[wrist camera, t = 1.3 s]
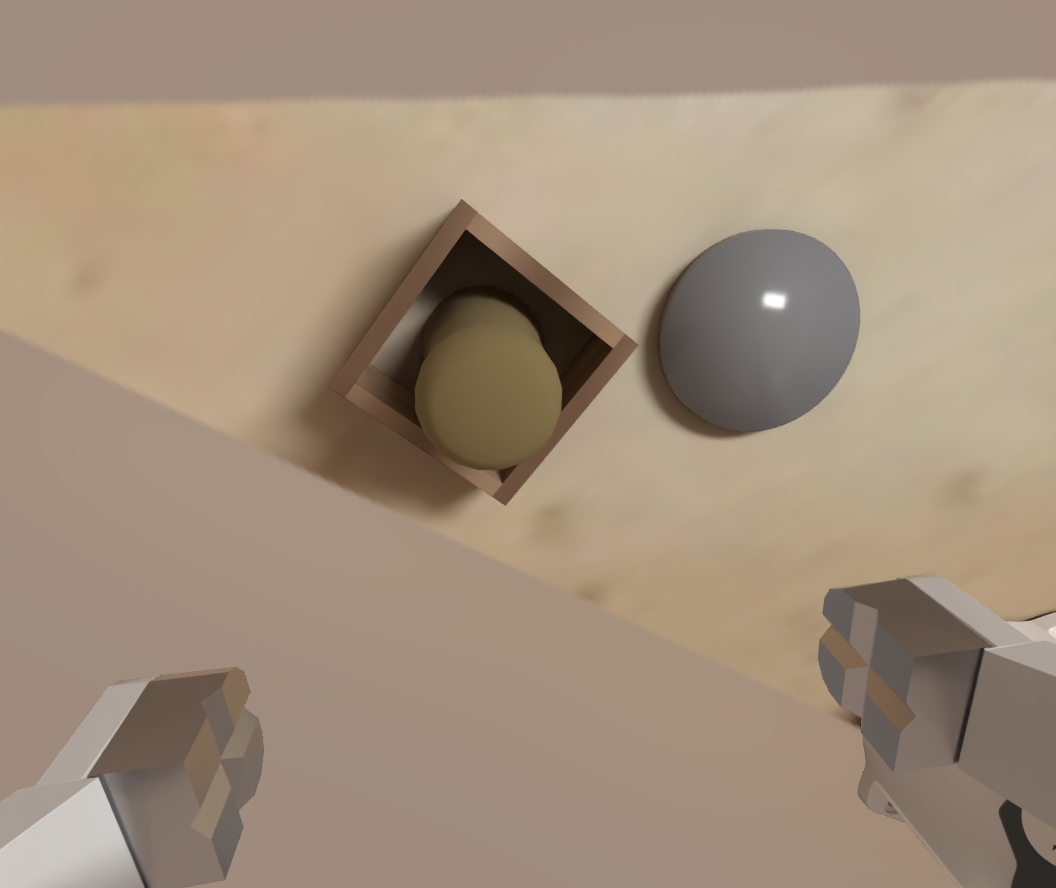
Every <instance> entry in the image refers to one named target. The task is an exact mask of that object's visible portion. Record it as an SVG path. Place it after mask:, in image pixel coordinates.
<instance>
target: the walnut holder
mask: <svg viewBox="0 0 1056 888" xmlns="http://www.w3.org/2000/svg"><path fill="white" fill-rule="evenodd" d="M465 229H466V230H468V231H469V232H470V233H471V234H473V235H474V236H475V237H476V238H478V239H479V240H480V241H481V242H482V243H484V244H485V245H486V246H487V247H489V248H490V249H491V250H492V251H494V252H495V253H496V254H497V255H498V256H500V257H501V258H502V259H503V260H505V261H506V262H507V263H508V264H510V265H511V266H512V267H513V268H515V269H516V270H517V271H518V272H519V273H521V274H522V275H523V276H524V277H526V278H527V279H528V280H529V281H531V282H532V283H533V284H534V285H536V286H537V287H538V288H539V289H540V290H542V291H543V292H544V293H545V294H547V295H548V296H549V297H550V298H552V299H553V300H554V301H555V302H556V303H558V304H559V305H560V306H561V307H563V308H564V309H565V310H566V311H568V312H569V313H570V314H571V315H573V316H574V317H575V318H576V319H577V320H579V321H580V322H581V323H582V324H584V325H585V326H586V327H587V328H589V329H590V330H591V331H592V332H594V333H595V335H594V336H593V337H592V338H591V340H590V341H589V342H588V343H587V345H586V346H585V347H584V348H583V350H582V351H581V352H580V353H579V355H578V356H577V357H576V358H575V360H574V361H573V362H572V363H571V365H570V366H569V367H568V368H567V370H566V371H565V372H564V373H563V374H562V376H561V377H560V378H559V380H560V383H561V387H562V403H561V413H560V415H559V418H558V421H557V423H556V426H555V428H554V431H553V434H552V436H551V437H550V438H549V439H548V441H547V442H546V443H545V444H544V446H543V447H542V448H541V449H540V451H539V452H537V453H536V454H534V455H533V456H531V457H530V458H528V459H527V460H525V461H524V462H523V463H521V464H518V465H515V466H512V467H508V468H505V469H502V470H476V469H472V468H469V467H465V466H462V465H459V464H456V463H455V462H453V461H452V460H450V459H449V458H447V457H446V456H444V455H443V454H441V453H440V452H439V451H438V450H437V449H436V447H435V446H434V445H433V444H432V442H431V441H430V440H429V439H428V438H427V436H426V435H425V434H424V432H423V429H422V427H421V424H420V422H419V419H418V416H417V414H416V411H415V395H414V394H412V393H411V392H409V391H408V390H406V389H405V388H404V387H402V386H401V385H399V384H398V383H396V382H395V381H394V380H392V379H391V378H389V377H388V376H386V375H385V374H384V373H382V372H381V371H379V370H378V369H376V368H375V367H374V366H372V365H371V364H369V363H370V362H371V361H372V359H373V358H374V356H375V355H376V354H377V352H378V351H379V349H380V348H381V347H382V345H383V344H384V342H385V341H386V340H387V338H388V337H389V335H390V334H391V333H392V331H393V330H394V328H395V327H396V326H397V324H398V323H399V322H400V320H401V319H402V317H403V316H404V315H405V313H406V312H407V310H408V309H409V308H410V306H411V305H412V303H413V302H414V301H415V299H416V298H417V296H418V295H419V294H420V292H421V291H422V289H423V288H424V287H425V285H426V284H427V282H428V281H429V280H430V278H431V277H432V275H433V274H434V273H435V271H436V270H437V268H438V267H439V266H440V264H441V263H442V262H443V260H444V259H445V257H446V256H447V255H448V253H449V252H450V250H451V249H452V248H453V246H454V245H455V243H456V242H457V241H458V239H459V238H460V236H461V235H462V234H463V232H464V231H465ZM637 346H638V344H637V343H635V342H634V341H633V340H632V339H631V338H629V337H628V336H627V335H626V334H624V333H623V332H622V331H621V330H620V329H618V328H617V327H616V326H615V325H614V324H612V323H611V322H610V321H609V320H608V319H606V318H605V317H604V316H603V315H601V314H600V313H599V312H598V311H597V310H595V309H594V308H593V307H592V306H591V305H589V304H588V303H587V302H586V301H584V300H583V299H582V298H581V297H580V296H578V295H577V294H576V293H575V292H574V291H572V290H571V289H570V288H569V287H568V286H566V285H565V284H564V283H563V282H561V281H560V280H559V279H558V278H557V277H555V276H554V275H553V274H552V273H551V272H549V271H548V270H547V269H546V268H544V267H543V266H542V265H541V264H540V263H538V262H537V261H536V260H535V259H534V258H532V257H531V256H530V255H529V254H528V253H526V252H525V251H524V250H523V249H521V248H520V247H519V246H518V245H517V244H515V243H514V242H513V241H512V240H511V239H509V238H508V237H507V236H506V235H504V234H503V233H502V232H501V231H500V230H498V229H497V228H496V227H495V226H494V225H492V224H491V223H490V222H489V221H488V220H486V219H485V218H484V217H483V216H481V215H480V214H479V213H478V212H477V211H475V210H474V209H473V208H472V207H471V206H469V205H468V204H467V203H466V202H464V201H463V200H462V199H461V200H460V202H459V203H458V205H457V206H456V208H455V209H454V210H453V212H452V213H451V215H450V216H449V217H448V219H447V220H446V222H445V223H444V225H443V226H442V227H441V229H440V230H439V232H438V233H437V234H436V236H435V237H434V239H433V240H432V242H431V243H430V244H429V246H428V247H427V249H426V250H425V251H424V253H423V254H422V256H421V257H420V258H419V260H418V261H417V263H416V264H415V266H414V267H413V268H412V270H411V271H410V273H409V274H408V275H407V277H406V278H405V280H404V281H403V283H402V284H401V285H400V287H399V288H398V290H397V291H396V292H395V294H394V295H393V297H392V298H391V300H390V301H389V302H388V304H387V305H386V307H385V308H384V309H383V311H382V312H381V314H380V315H379V317H378V318H377V319H376V321H375V322H374V324H373V325H372V326H371V328H370V329H369V331H368V332H367V334H366V335H365V336H364V338H363V339H362V341H361V342H360V343H359V345H358V346H357V348H356V349H355V351H354V352H353V353H352V355H351V356H350V358H349V359H348V360H347V362H346V363H345V365H344V366H343V368H342V369H341V370H340V372H339V373H338V375H337V376H336V377H335V379H334V380H333V382H332V383H331V385H330V386H329V387H330V388H331V389H333V390H334V391H335V392H337V393H338V394H340V395H341V396H343V397H344V398H346V399H347V400H349V401H350V402H352V403H353V404H355V405H356V406H358V407H359V408H361V409H362V410H364V411H365V412H367V413H368V414H370V415H371V416H373V417H374V418H376V419H377V420H379V421H380V422H382V423H383V424H385V425H386V426H388V427H389V428H391V429H392V430H394V431H395V432H396V433H398V434H399V435H401V436H402V437H404V438H405V439H407V440H408V441H410V442H411V443H413V444H414V445H416V446H417V447H419V448H420V449H422V450H423V451H425V452H426V453H428V454H429V455H431V456H432V457H434V458H435V459H437V460H438V461H440V462H441V463H443V464H444V465H446V466H447V467H449V468H450V469H452V470H453V471H455V472H456V473H457V474H459V475H460V476H462V477H463V478H465V479H466V480H468V481H469V482H471V483H472V484H474V485H475V486H477V487H478V488H480V489H481V490H483V491H484V492H486V493H487V494H489V495H490V496H492V497H493V498H495V499H496V500H498V501H499V502H501V503H502V504H504V505H505V506H506V505H507V503H508V502H509V501H510V500H511V499H512V497H513V496H514V495H515V494H516V492H517V491H518V490H519V489H520V488H521V486H522V485H523V484H524V483H525V482H526V480H527V479H528V478H529V477H530V476H531V474H532V473H533V472H534V471H535V470H536V468H537V467H538V466H539V465H540V464H541V462H542V461H543V460H544V459H545V457H546V456H547V455H548V454H549V453H550V451H551V450H552V449H553V448H554V447H555V445H556V444H557V443H558V442H559V441H560V439H561V438H562V437H563V436H564V435H565V433H566V432H567V431H568V430H569V429H570V427H571V426H572V425H573V424H574V422H575V421H576V420H577V419H578V418H579V416H580V415H581V414H582V413H583V412H584V410H585V409H586V408H587V407H588V406H589V404H590V403H591V402H592V401H593V400H594V398H595V397H596V396H597V395H598V394H599V392H600V391H601V390H602V389H603V387H604V386H605V385H606V384H607V383H608V381H609V380H610V379H611V378H612V377H613V375H614V374H615V373H616V372H617V371H618V369H619V368H620V367H621V366H622V365H623V363H624V362H625V361H626V360H627V359H628V357H629V356H630V355H631V354H632V352H633V351H634V350H635V349H636V348H637Z"/></svg>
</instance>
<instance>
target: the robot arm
mask: <svg viewBox="0 0 1056 888" xmlns="http://www.w3.org/2000/svg"><path fill="white" fill-rule="evenodd" d="M822 614H823V615H824V616H825V618H826V619H827V620H828V621H829V623H830V624H831V626H830V627H829V628H828V629H827V631H826V632H825V633H824V634H823V636H822V637H821V638H820V639H819V653H818V661H819V665H820V669H821V673H822V677H823V680H824V682H825V684H826V686H827V688H828V690H829V692H830V694H831V695H832V696H833V697H834V699H835V700H836V701H837V703H838V704H839V705H840V707H842V708H844V709H846V710H847V711H849V712H851V713H853V714H855V715H857V716H859V717H861V718H862V719H861V733H862V734H863V745H864V750H865V757H866V766H865V769H864V771H863V774H862V777H861V780H860V783H859V787H858V795H859V797H860V799H861V800H862V801H863V802H864V803H865V805H866V806H867V807H868V808H869V809H870V810H872V811H874V812H877V813H879V814H883V815H885V816H888V817H891V818H894V819H897V820H900V821H903V822H905V823H907V825H908V826H909V827H910V828H911V829H912V831H913V832H914V833H915V835H916V836H917V837H918V838H919V840H920V841H921V842H922V843H923V845H924V846H925V847H926V848H927V850H928V851H929V852H930V853H931V854H932V856H933V857H934V858H935V860H936V861H937V862H938V863H939V865H940V866H941V867H942V868H943V870H944V871H945V872H946V873H947V875H948V876H949V877H950V878H951V880H952V881H953V882H954V883H955V884H956V886H957V887H958V888H1056V612H1055V613H1051V614H1048V615H1045V616H1042V617H1039V618H1037V619H1034V620H1031V621H1021V622H1006V621H1004V620H1003V619H1002V618H1000V617H999V616H997V615H996V614H995V613H993V612H992V611H990V610H989V609H988V608H986V607H985V606H983V605H982V604H981V603H979V602H978V601H977V600H975V599H974V598H972V597H971V596H970V595H968V594H967V593H965V592H964V591H963V590H961V589H960V588H958V587H957V586H956V585H954V584H953V583H952V582H950V581H949V580H947V579H946V578H945V577H943V576H940V575H936V574H933V573H926V574H920V575H914V576H908V577H902V578H897V579H896V580H890V581H883V582H876V583H868V584H861V585H854V586H846V587H839V588H832V589H829V591H828V593H827V595H826V596H825V598H824V605H823V613H822ZM249 694H250V689H249V685H248V682H247V679H246V676H245V674H244V671H242V670H240V669H239V668H237V667H231V668H223V669H213V670H205V671H196V672H186V673H177V674H168V675H160V676H158V677H154V676H153V677H145V678H137V679H129V680H121V681H119V682H116V683H114V684H113V685H111V686H109V687H108V688H107V689H106V691H105V692H104V693H103V695H102V696H101V697H100V699H99V700H98V701H97V703H96V704H95V705H94V707H93V708H92V709H91V711H90V712H89V713H88V715H87V716H86V717H85V719H84V720H83V722H82V723H81V724H80V725H79V727H78V728H77V729H76V731H75V732H74V734H73V735H72V736H71V738H70V739H69V740H68V742H67V743H66V744H65V746H64V747H63V748H62V750H61V751H60V752H59V754H58V755H57V756H56V758H55V759H54V761H53V762H52V763H51V764H50V766H49V767H48V768H47V770H46V771H45V773H44V774H43V775H42V776H41V778H40V779H39V781H38V782H37V783H36V785H35V786H32V787H26V788H20V789H18V790H17V791H15V792H14V793H12V794H11V795H10V796H8V797H7V798H5V799H4V800H2V801H1V802H0V888H185V887H190V886H196V885H201V884H207V883H211V882H216V881H222V880H225V879H226V875H227V873H228V870H229V867H230V865H231V862H232V859H233V856H234V853H235V850H236V847H237V844H238V841H239V839H240V836H241V833H242V830H243V824H242V821H241V817H240V814H239V810H240V809H241V808H242V807H243V806H244V805H245V803H247V802H248V801H249V800H250V799H251V798H252V797H253V796H254V795H255V792H256V789H257V786H258V783H259V780H260V777H261V772H262V763H263V753H264V747H263V736H262V730H261V727H260V723H259V719H258V717H256V716H255V715H254V714H252V713H251V712H249V711H248V710H247V709H245V708H244V706H245V703H246V701H247V699H248V696H249Z"/></svg>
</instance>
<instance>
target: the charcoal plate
mask: <svg viewBox="0 0 1056 888" xmlns="http://www.w3.org/2000/svg"><path fill="white" fill-rule="evenodd" d="M859 326H860V306H859V298H858V294H857V290H856V287H855V284H854V281H853V279H852V277H851V274H850V272H849V271H848V269H847V267H846V266H845V264H844V263H843V261H842V260H841V259H840V258H839V257H838V256H837V254H836V253H835V252H833V251H832V250H831V249H830V248H829V247H828V246H826V245H825V244H823V243H822V242H820V241H818V240H817V239H815V238H813V237H810V236H808V235H805V234H802V233H798V232H794V231H788V230H774V229H766V230H753V231H748V232H743V233H740V234H737V235H734V236H731V237H728V238H726V239H724V240H722V241H720V242H718V243H716V244H715V245H713V246H712V247H710V248H709V249H707V250H705V251H704V252H703V253H702V254H701V255H699V256H698V257H697V258H696V259H695V260H694V261H693V262H692V263H691V264H690V265H689V266H688V267H687V268H686V269H685V270H684V272H683V273H682V274H681V276H680V277H679V279H678V280H677V281H676V283H675V285H674V286H673V288H672V290H671V292H670V294H669V296H668V298H667V301H666V303H665V305H664V308H663V312H662V316H661V319H660V325H659V332H658V350H659V358H660V362H661V366H662V370H663V373H664V375H665V378H666V380H667V382H668V384H669V386H670V387H671V389H672V391H673V392H674V394H675V395H676V396H677V397H678V399H679V400H680V401H681V402H682V403H683V404H684V405H685V406H686V407H687V408H689V409H690V410H691V411H692V412H693V413H694V414H696V415H697V416H699V417H700V418H702V419H703V420H705V421H707V422H709V423H711V424H713V425H715V426H718V427H721V428H724V429H728V430H733V431H744V432H752V431H762V430H767V429H772V428H776V427H779V426H782V425H785V424H787V423H789V422H791V421H793V420H795V419H797V418H799V417H801V416H802V415H804V414H806V413H807V412H809V411H810V410H811V409H813V408H814V407H815V406H816V405H818V404H819V403H820V402H821V401H822V400H823V399H824V398H825V397H826V396H827V395H828V394H829V393H830V392H831V390H832V389H833V388H834V387H835V386H836V384H837V383H838V381H839V380H840V378H841V377H842V375H843V374H844V372H845V370H846V368H847V366H848V364H849V362H850V360H851V358H852V355H853V352H854V350H855V346H856V342H857V339H858V333H859Z"/></svg>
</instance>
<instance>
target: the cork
mask: <svg viewBox="0 0 1056 888" xmlns="http://www.w3.org/2000/svg"><path fill="white" fill-rule="evenodd" d="M543 340H544V339H543V336H542V332H541V329H540V325H539V322H538V320H537V318H536V317H535V315H534V314H533V312H532V311H531V309H530V308H529V307H528V305H527V304H526V303H524V302H523V301H522V300H520V299H519V298H518V297H516V296H515V295H514V294H513V293H510V292H508V291H505V290H502V289H499V288H496V287H494V286H472V287H469V288H466V289H463V290H460V291H456V292H454V293H453V294H451V295H450V296H449V297H447V298H446V299H445V300H443V301H442V302H440V303H439V304H438V306H437V307H436V309H435V310H434V311H433V313H432V314H431V316H430V317H429V318H428V320H427V324H426V327H425V330H424V334H423V337H422V346H423V359H424V362H423V364H422V366H421V369H420V373H419V376H418V379H417V382H416V386H415V411H416V414H417V416H418V419H419V422H420V424H421V427H422V429H423V432H424V434H425V435H426V436H427V438H428V439H429V440H430V441H431V442H432V444H433V445H434V446H435V447H436V449H437V450H438V451H439V452H440V453H441V454H443V455H444V456H446V457H447V458H449V459H450V460H452V461H453V462H455V463H456V464H459V465H462V466H465V467H469V468H472V469H476V470H502V469H505V468H508V467H512V466H515V465H518V464H521V463H523V462H524V461H525V460H527V459H528V458H530V457H531V456H533V455H534V454H536V453H537V452H539V451H540V449H541V448H542V447H543V446H544V444H545V443H546V442H547V441H548V439H549V438H550V437H551V436H552V434H553V431H554V428H555V426H556V423H557V421H558V418H559V415H560V413H561V403H562V387H561V383H560V380H559V376H558V372H557V369H556V367H555V365H554V364H553V362H552V361H551V359H550V358H549V356H548V355H547V353H546V352H545V350H544V349H543Z"/></svg>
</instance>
